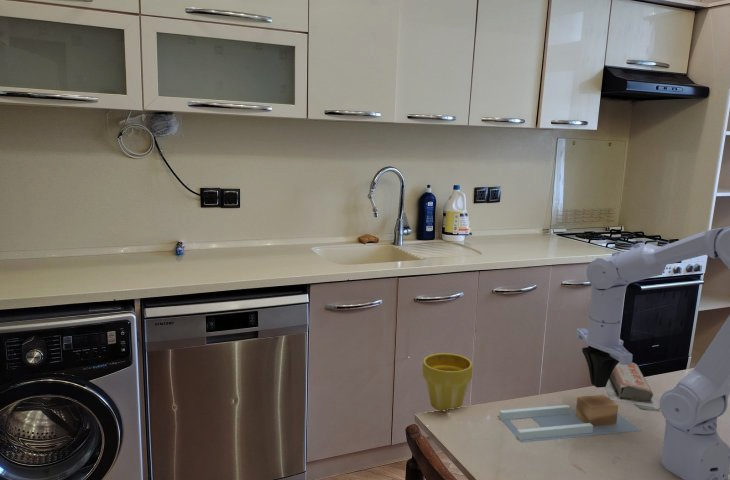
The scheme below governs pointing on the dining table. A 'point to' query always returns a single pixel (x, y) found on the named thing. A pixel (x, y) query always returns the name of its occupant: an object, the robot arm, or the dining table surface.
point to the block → (596, 410)
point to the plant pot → (447, 379)
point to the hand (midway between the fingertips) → (598, 385)
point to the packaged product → (630, 387)
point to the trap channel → (559, 424)
